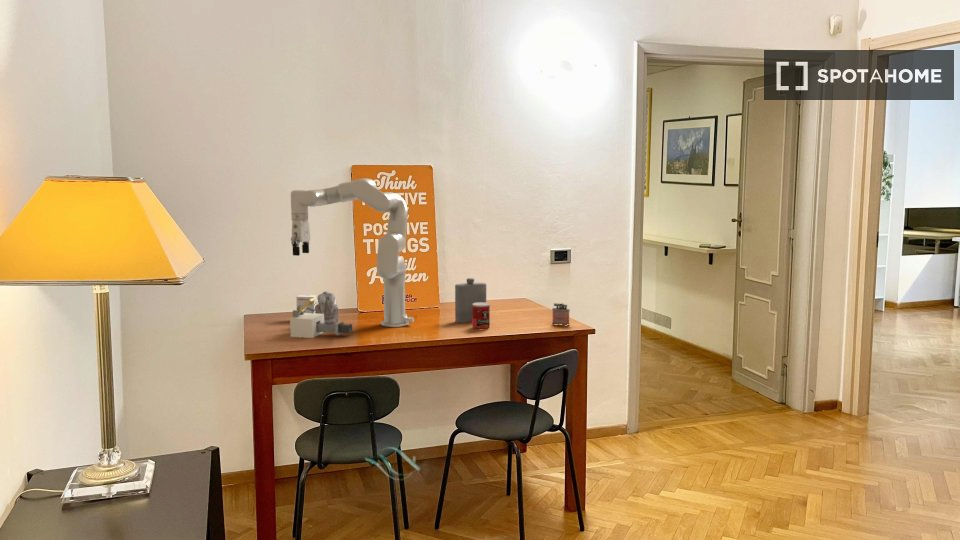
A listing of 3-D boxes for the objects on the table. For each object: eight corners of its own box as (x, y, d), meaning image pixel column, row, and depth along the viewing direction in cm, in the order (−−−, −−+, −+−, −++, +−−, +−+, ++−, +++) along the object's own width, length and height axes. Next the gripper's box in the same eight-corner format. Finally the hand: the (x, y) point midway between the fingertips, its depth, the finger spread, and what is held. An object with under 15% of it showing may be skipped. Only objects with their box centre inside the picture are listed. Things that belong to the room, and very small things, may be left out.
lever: (315, 300, 319) (313, 297, 320) (311, 301, 315) (309, 299, 315) (300, 314, 322) (298, 311, 322) (296, 316, 318) (293, 313, 318)
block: (324, 331, 325) (323, 307, 323) (312, 338, 313) (311, 312, 312) (303, 330, 327) (302, 306, 325) (290, 336, 315) (289, 311, 314)
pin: (353, 332, 319) (353, 321, 318) (348, 335, 313) (347, 324, 312) (312, 330, 323) (312, 319, 322) (306, 333, 317) (306, 322, 316)
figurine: (338, 322, 344) (337, 290, 342) (339, 328, 333) (338, 294, 331) (315, 323, 342) (314, 291, 340) (315, 329, 331) (314, 295, 329)
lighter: (570, 325, 339) (570, 303, 337) (568, 326, 336) (568, 304, 334) (553, 323, 342) (553, 302, 341) (551, 324, 339) (551, 303, 338)
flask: (483, 318, 353) (483, 276, 350) (487, 321, 347) (487, 278, 345) (453, 320, 348) (453, 278, 345) (457, 323, 342) (456, 280, 340)
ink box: (296, 321, 347) (295, 296, 345) (300, 319, 352) (299, 294, 350) (314, 321, 346) (313, 296, 344) (317, 319, 351) (317, 295, 349)
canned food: (477, 330, 327) (477, 306, 326) (469, 327, 334) (469, 303, 333) (492, 328, 331) (492, 304, 329) (484, 325, 338) (484, 301, 336)
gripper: (298, 218, 334) (300, 256, 336) (315, 216, 350) (316, 252, 353) (283, 218, 335) (284, 256, 337) (300, 215, 352) (301, 252, 354)
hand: (301, 254), depth 345 cm, fingers open, 9 cm apart
